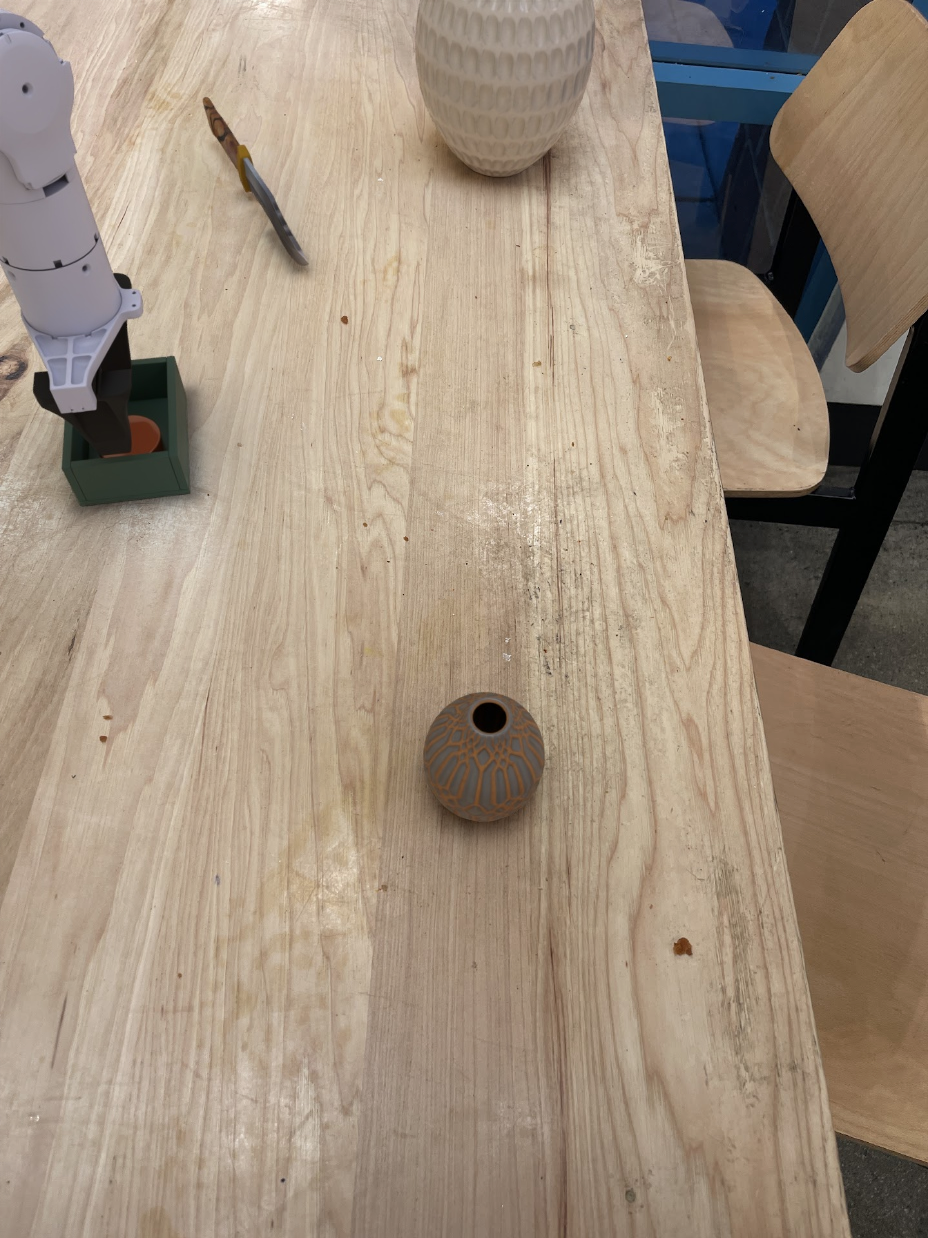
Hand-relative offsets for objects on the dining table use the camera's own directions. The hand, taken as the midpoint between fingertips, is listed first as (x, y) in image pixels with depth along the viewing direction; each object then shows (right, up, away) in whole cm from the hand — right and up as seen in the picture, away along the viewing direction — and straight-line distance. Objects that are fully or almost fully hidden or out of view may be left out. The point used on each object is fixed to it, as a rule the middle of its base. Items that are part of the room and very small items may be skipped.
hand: (116, 414), depth 61 cm
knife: (+5, +24, +21) cm, 32 cm away
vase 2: (+25, -24, -8) cm, 36 cm away
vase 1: (+27, +32, +28) cm, 51 cm away
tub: (-1, -1, +5) cm, 5 cm away
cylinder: (0, -2, +4) cm, 4 cm away
